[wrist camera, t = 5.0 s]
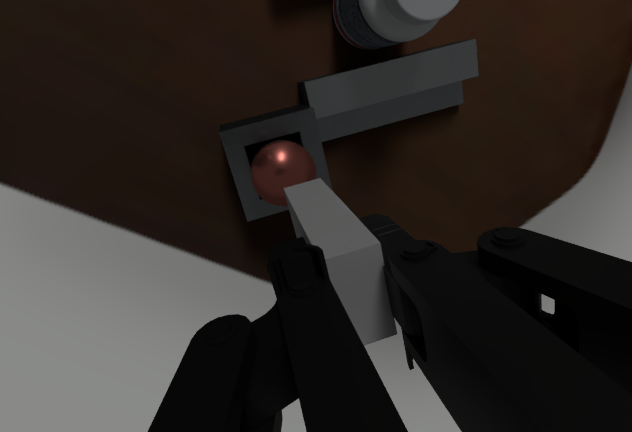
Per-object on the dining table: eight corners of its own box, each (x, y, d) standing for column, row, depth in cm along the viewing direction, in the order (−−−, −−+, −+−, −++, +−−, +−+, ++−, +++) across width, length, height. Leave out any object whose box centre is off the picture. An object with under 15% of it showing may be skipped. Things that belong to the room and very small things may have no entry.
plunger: (255, 188, 29) (261, 213, 23) (240, 138, 27) (243, 152, 22) (305, 174, 29) (322, 196, 24) (293, 124, 28) (308, 134, 22)
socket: (311, 143, 29) (319, 149, 26) (251, -115, 23) (253, -139, 21) (459, 102, 30) (480, 104, 28) (435, -151, 25) (460, -178, 22)
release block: (245, 204, 29) (247, 221, 26) (220, 125, 27) (218, 132, 24) (321, 182, 30) (333, 196, 26) (302, 103, 28) (313, 107, 24)
